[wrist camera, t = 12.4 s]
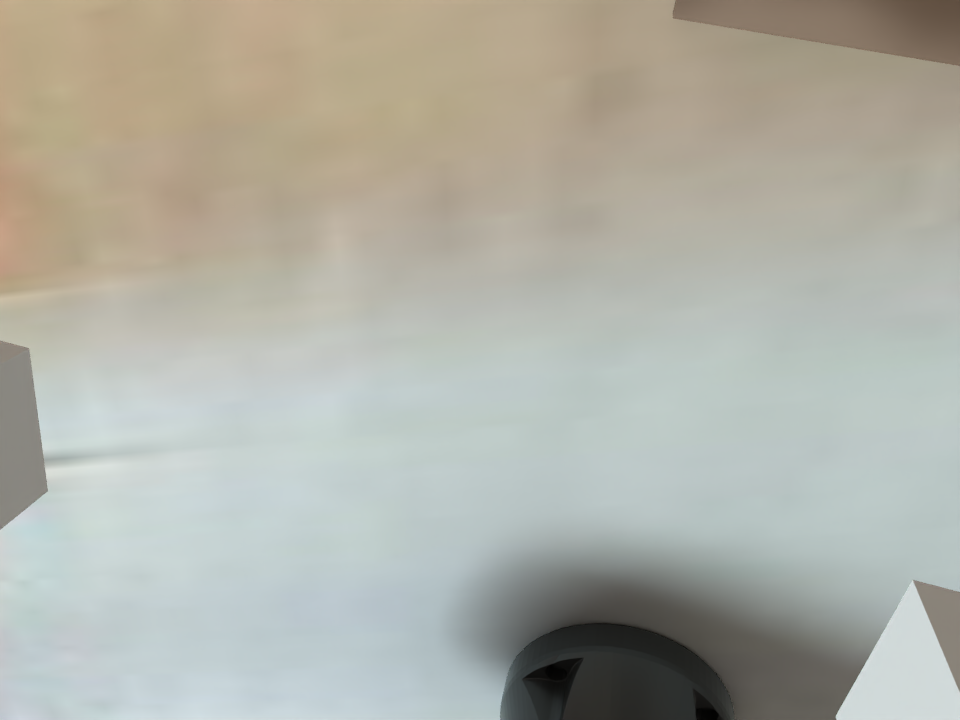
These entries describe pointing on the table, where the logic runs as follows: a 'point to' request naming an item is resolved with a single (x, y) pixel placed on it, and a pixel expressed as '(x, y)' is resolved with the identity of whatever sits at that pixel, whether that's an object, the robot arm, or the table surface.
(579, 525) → the table surface
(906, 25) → the riser block
